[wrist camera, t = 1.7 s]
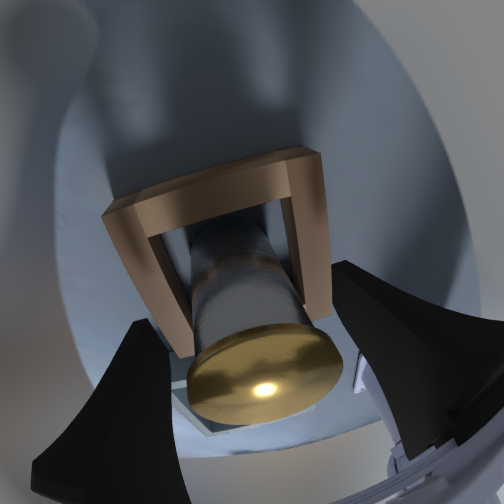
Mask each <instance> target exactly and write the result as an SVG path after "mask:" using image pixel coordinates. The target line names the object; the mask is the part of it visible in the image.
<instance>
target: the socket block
mask: <svg viewBox="0 0 504 504" xmlns="http://www.w3.org/2000/svg"><path fill="white" fill-rule="evenodd" d="M278 199H280V201H281V207H282V212H283V218H284V224H285V230H286V236H287V242H288V248H289V255H290V261H291V267H292V274H293V281H294V282H292V283H291V284H292V286H293V287H294V289H295V291H296V293H297V295H298V297H299V299H300V301H301V303H302V305H303V307H304V308H305V310H306V312H307V314H308V316H309V318H310V320H311V322H312V321H315V320H317V319H320V318H323V317H326V316H329V315H331V314H332V289H331V263H330V245H329V230H328V217H327V206H326V196H325V186H324V177H323V169H322V161H321V153H319V152H316V151H314V150H311V149H309V148H306V147H304V146H298V147H293V148H288V149H284V150H279V151H274V152H270V153H266V154H261V155H257V156H253V157H249V158H245V159H241V160H237V161H233V162H229V163H225V164H222V165H218V166H214V167H211V168H207V169H204V170H201V171H197V172H194V173H190V174H187V175H184V176H181V177H178V178H175V179H171V180H168V181H165V182H162V183H159V184H156V185H154V186H151V187H148V188H145V189H142V190H139V191H137V192H134V193H131V194H128V195H126V196H123V197H121V198H118V199H115V200H113V202H112V203H111V204H110V206H109V207H108V208H107V209H106V211H105V212H104V213H103V215H102V216H101V218H102V220H103V222H104V225H105V227H106V229H107V231H108V233H109V236H110V238H111V240H112V242H113V244H114V246H115V248H116V250H117V252H118V254H119V256H120V258H121V260H122V262H123V264H124V266H125V268H126V270H127V272H128V274H129V276H130V278H131V279H132V281H133V283H134V285H135V287H136V289H137V290H138V292H139V294H140V296H141V298H142V299H143V301H144V303H145V304H146V306H147V308H148V310H149V311H150V313H151V315H152V316H153V318H154V320H155V321H156V323H157V324H158V326H159V328H160V329H161V331H162V332H163V334H164V336H165V337H166V339H167V340H168V342H169V343H170V345H171V346H172V348H173V349H174V351H175V352H176V354H177V355H178V357H179V358H185V357H189V356H194V355H195V352H194V337H193V318H192V307H191V305H190V303H189V300H188V298H187V296H186V294H185V292H184V290H183V288H182V285H181V283H180V281H179V279H178V277H177V274H176V272H175V270H174V268H173V265H172V263H171V261H170V258H169V256H168V254H167V251H166V249H165V246H164V244H163V242H162V239H161V237H160V233H164V232H167V231H170V230H173V229H176V228H180V227H183V226H186V225H189V224H193V223H196V222H199V221H203V220H206V219H209V218H213V217H216V216H220V215H223V214H227V213H230V212H234V211H237V210H241V209H244V208H248V207H252V206H255V205H259V204H263V203H267V202H270V201H274V200H278Z"/></svg>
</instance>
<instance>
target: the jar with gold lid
mask: <svg viewBox="0 0 504 504" xmlns="http://www.w3.org/2000/svg"><path fill="white" fill-rule="evenodd" d="M191 293H192V318H193V337H194V352H195V360H194V361H193V362H192V364H191V365H190V367H189V369H188V372H187V377H186V383H187V397H188V402H189V404H190V406H191V408H192V409H193V410H194V411H195V412H196V413H197V414H199V415H200V416H202V417H204V418H206V419H208V420H211V421H214V422H218V423H223V424H230V425H251V424H260V423H266V422H271V421H275V420H279V419H282V418H285V417H288V416H290V415H293V414H295V413H298V412H300V411H302V410H304V409H306V408H308V407H309V406H311V405H313V404H314V403H316V402H317V401H319V400H320V399H321V398H323V397H324V396H325V395H326V394H327V393H328V392H329V391H330V390H331V389H332V388H333V387H334V386H335V384H336V383H337V382H338V380H339V378H340V376H341V374H342V371H343V360H342V357H341V355H340V353H339V351H338V349H337V348H336V346H335V344H334V342H333V341H332V339H331V337H329V336H328V335H327V334H326V333H325V332H323V331H322V330H320V329H318V328H315V327H314V326H313V324H312V322H311V320H310V318H309V316H308V314H307V312H306V310H305V308H304V307H303V305H302V303H301V301H300V299H299V297H298V295H297V293H296V291H295V289H294V287H293V286H292V284H291V282H290V280H289V278H288V276H287V274H286V272H285V270H284V269H283V267H282V265H281V263H280V261H279V259H278V257H277V256H276V254H275V252H274V250H273V248H272V246H271V244H270V243H269V241H268V239H267V237H266V235H265V233H264V232H263V230H262V229H261V228H260V227H259V226H258V225H256V224H255V223H253V222H252V221H250V220H247V219H244V218H240V217H225V218H220V219H217V220H215V221H213V222H211V223H209V224H207V225H206V226H205V227H203V228H202V229H201V230H200V231H199V233H198V234H197V235H196V237H195V239H194V241H193V243H192V246H191Z"/></svg>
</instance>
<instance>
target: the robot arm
mask: <svg viewBox="0 0 504 504" xmlns="http://www.w3.org/2000/svg"><path fill="white" fill-rule="evenodd" d="M331 270H332V304H333V306H334V308H335V310H336V312H337V314H338V316H339V318H340V320H341V322H342V324H343V325H344V327H345V329H346V330H347V332H348V333H349V335H350V336H351V338H352V339H353V341H354V342H355V344H356V345H357V347H358V348H359V350H360V351H361V354H360V356H359V361H358V367H357V373H356V378H355V383H354V388H353V392H354V394H357V393H359V392H361V391H364V390H367V392H368V394H369V396H370V398H371V400H372V402H373V403H374V405H375V407H376V409H377V411H378V413H379V415H380V417H381V419H382V420H383V422H384V424H385V426H386V428H387V430H388V432H389V434H390V436H391V438H392V439H393V442H394V443H395V447H393V448H392V449H391V452H392V455H391V456H390V458H389V462H388V465H387V475H388V479H386V480H384V481H382V482H380V483H378V484H376V485H374V486H372V487H370V488H367V489H365V490H363V491H361V492H358V493H356V494H353V495H351V496H348V497H346V498H344V499H341V500H338V501H335V502H333V503H330V504H374V503H376V502H379V501H381V500H383V499H385V498H387V497H389V496H391V495H393V494H396V495H397V496H396V497H394V498H392V499H391V500H389V501H387V502H386V503H385V504H501V502H500V500H499V498H498V496H497V494H496V492H497V491H498V490H499V489H500V488H501V486H502V485H503V484H504V321H497V320H489V319H484V318H479V317H474V316H470V315H466V314H462V313H459V312H455V311H452V310H449V309H445V308H443V307H440V306H437V305H434V304H432V303H429V302H427V301H424V300H422V299H419V298H417V297H415V296H413V295H411V294H408V293H406V292H404V291H402V290H400V289H398V288H396V287H394V286H392V285H390V284H388V283H387V282H385V281H383V280H381V279H379V278H377V277H376V276H374V275H372V274H370V273H368V272H367V271H365V270H363V269H361V268H360V267H358V266H356V265H354V264H352V263H350V262H349V261H347V260H344V261H341V262H338V263H335V264H332V265H331ZM31 490H32V491H33V492H35V493H37V494H39V495H41V496H44V497H46V498H49V499H52V500H54V501H57V502H60V503H63V504H192V503H191V501H190V498H189V495H188V493H187V490H186V487H185V484H184V480H183V476H182V473H181V469H180V465H179V461H178V456H177V452H176V446H175V441H174V435H173V426H172V381H171V366H170V358H169V351H168V349H167V348H166V346H165V345H164V344H163V342H162V341H161V339H160V338H159V336H158V334H157V333H156V331H155V330H154V328H153V327H152V325H151V324H150V322H149V320H148V319H147V318H146V319H142V320H138V321H134V322H133V323H132V325H131V326H130V328H129V330H128V332H127V333H126V335H125V337H124V339H123V341H122V343H121V344H120V346H119V348H118V350H117V352H116V354H115V355H114V357H113V359H112V361H111V363H110V365H109V367H108V368H107V370H106V372H105V373H104V375H103V377H102V378H101V380H100V382H99V384H98V385H97V387H96V389H95V390H94V392H93V394H92V395H91V397H90V398H89V399H88V401H87V402H86V404H85V405H84V407H83V408H82V410H81V411H80V412H79V413H78V415H77V416H76V417H75V419H74V420H73V421H72V422H71V423H70V425H69V426H68V427H67V428H66V430H65V431H64V432H63V433H62V434H61V435H60V436H59V437H58V438H57V439H56V440H55V441H54V443H52V444H51V446H49V447H48V448H47V449H46V450H45V451H44V452H43V453H42V454H41V455H39V456H38V457H37V458H36V459H35V460H33V462H32V472H31ZM43 504H47V503H43Z"/></svg>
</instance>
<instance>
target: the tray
mask: <svg viewBox="0 0 504 504" xmlns="http://www.w3.org/2000/svg"><path fill="white" fill-rule="evenodd" d="M169 358H170V366H171V381H172V406H173V407H174V408H175V409H176V410H177V411H178V412H179V413H180V414H181V415H183V416H184V417H185V418H186V419H187V420H188V421H189V422H190V423H191V424H192V425H193V426H195V427H196V428H197V429H198V430H199V431H200V432H201V433H202V434H204V435H205V436H206V437H210V436H216V435H221V434H227V433H232V432H236V431H241V430H245V429H250V428H254V427H258V426H262V425H266V424H269V423H273V422H277V421H280V420H284V419H287V418H290V417H293V416H296V415H300V414H303V413H306V412H309V411H311V410H314V409H316V403H314V404H313V405H311V406H309V407H308V408H306V409H304V410H302V411H300V412H298V413H295V414H293V415H290V416H288V417H285V418H282V419H279V420H275V421H271V422H266V423H260V424H251V425H230V424H223V423H218V422H214V421H211V420H208V419H206V418H204V417H202V416H200V415H199V414H197V413H196V412H195V411H194V410H193V409H192V408H191V406H190V404H189V402H188V397H187V383H186V377H187V372H188V369H189V367H190V365H191V364H192V362H193V361H194V360H195V355H194V356H189V357H185V358H179V357H178V355H177V354H176V352H175V351H174V352H169Z"/></svg>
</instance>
